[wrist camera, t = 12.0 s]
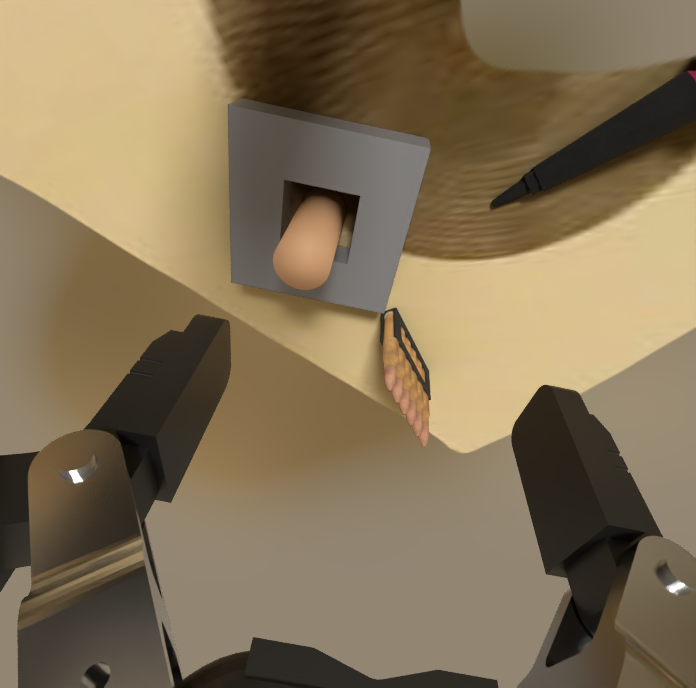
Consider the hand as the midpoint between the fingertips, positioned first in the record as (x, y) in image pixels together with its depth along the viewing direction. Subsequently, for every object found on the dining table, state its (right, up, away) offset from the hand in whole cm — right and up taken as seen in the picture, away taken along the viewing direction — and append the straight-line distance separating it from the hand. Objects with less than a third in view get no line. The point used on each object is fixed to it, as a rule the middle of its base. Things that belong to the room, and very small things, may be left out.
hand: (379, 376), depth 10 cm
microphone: (+20, +19, +22) cm, 35 cm away
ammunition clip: (+6, +1, +38) cm, 38 cm away
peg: (-3, +14, +28) cm, 32 cm away
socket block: (-3, +14, +28) cm, 32 cm away
